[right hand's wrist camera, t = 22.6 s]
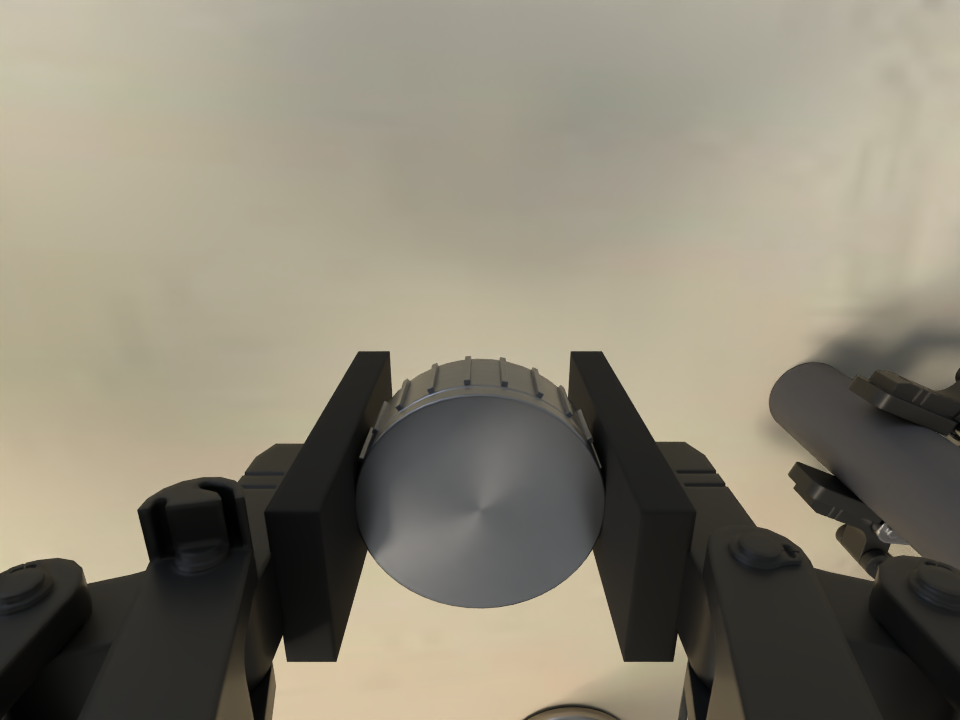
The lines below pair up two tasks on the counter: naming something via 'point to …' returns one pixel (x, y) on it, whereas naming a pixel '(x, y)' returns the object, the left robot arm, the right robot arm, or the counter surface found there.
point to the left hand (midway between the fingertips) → (832, 434)
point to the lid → (479, 485)
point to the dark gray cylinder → (876, 457)
